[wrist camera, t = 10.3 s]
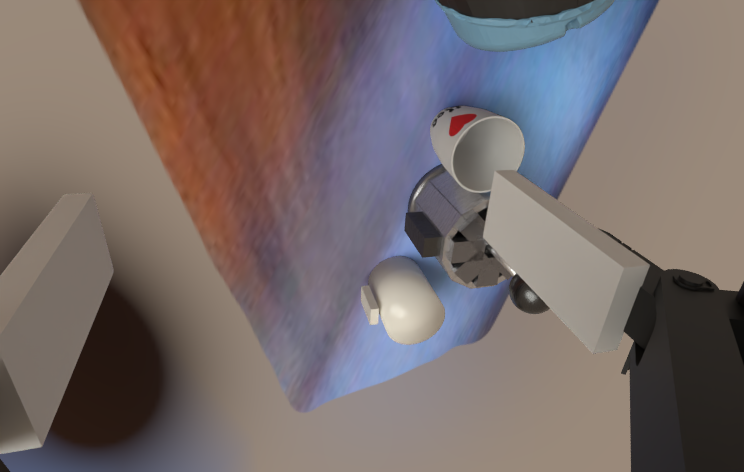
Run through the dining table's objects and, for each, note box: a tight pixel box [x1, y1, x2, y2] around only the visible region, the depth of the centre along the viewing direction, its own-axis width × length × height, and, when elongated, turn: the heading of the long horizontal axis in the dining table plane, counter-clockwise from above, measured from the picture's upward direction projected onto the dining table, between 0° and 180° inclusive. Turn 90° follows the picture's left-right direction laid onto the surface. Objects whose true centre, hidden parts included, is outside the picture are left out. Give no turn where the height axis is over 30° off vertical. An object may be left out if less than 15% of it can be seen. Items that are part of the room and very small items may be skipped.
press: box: [405, 164, 512, 289], centre depth 56 cm, size 12×14×12 cm
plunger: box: [452, 207, 550, 314], centre depth 51 cm, size 9×9×20 cm
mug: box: [361, 256, 445, 345], centre depth 60 cm, size 8×9×9 cm
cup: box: [430, 106, 525, 193], centre depth 51 cm, size 8×8×10 cm
